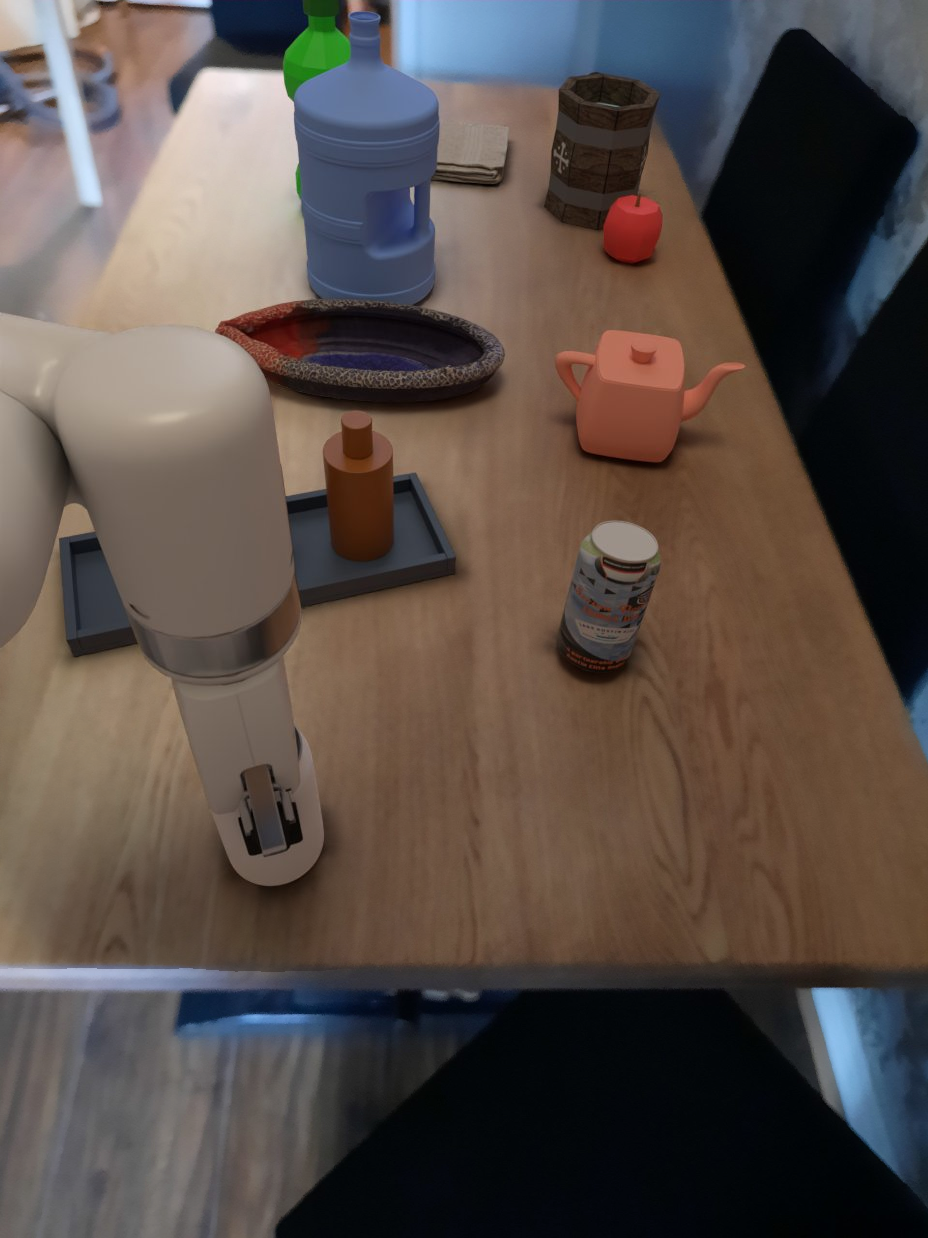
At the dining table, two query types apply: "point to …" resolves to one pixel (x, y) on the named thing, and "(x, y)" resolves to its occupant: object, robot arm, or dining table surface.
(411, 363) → the dish
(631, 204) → the apple
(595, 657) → the beverage can
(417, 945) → the dining table surface
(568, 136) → the mug
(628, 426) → the teapot
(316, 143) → the water jug
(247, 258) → the dining table surface
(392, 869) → the dining table surface
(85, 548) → the tray
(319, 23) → the plastic bottle
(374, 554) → the amber bottle
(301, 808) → the can
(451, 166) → the washcloth
